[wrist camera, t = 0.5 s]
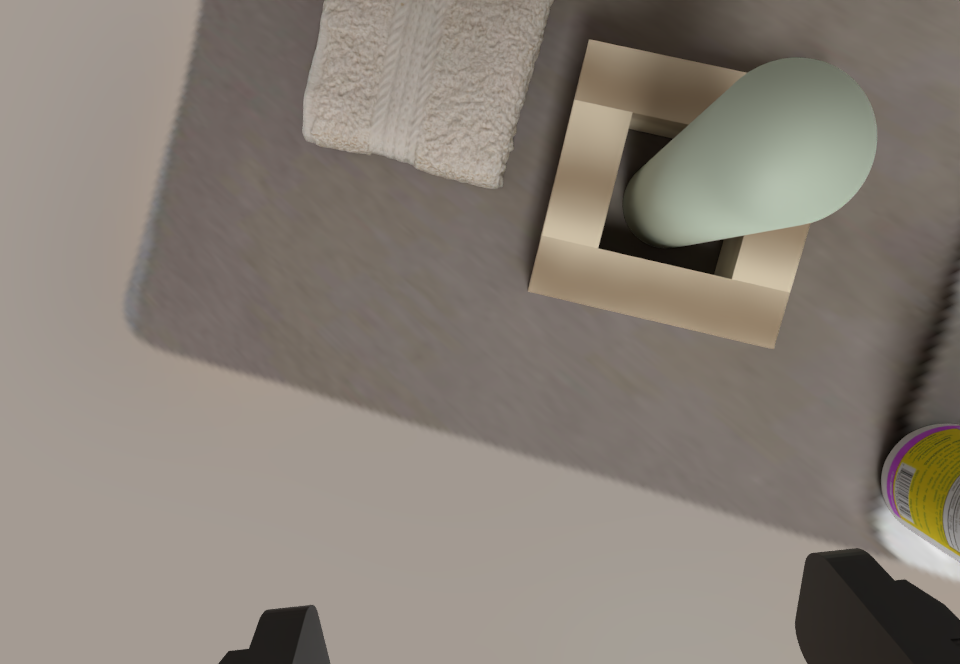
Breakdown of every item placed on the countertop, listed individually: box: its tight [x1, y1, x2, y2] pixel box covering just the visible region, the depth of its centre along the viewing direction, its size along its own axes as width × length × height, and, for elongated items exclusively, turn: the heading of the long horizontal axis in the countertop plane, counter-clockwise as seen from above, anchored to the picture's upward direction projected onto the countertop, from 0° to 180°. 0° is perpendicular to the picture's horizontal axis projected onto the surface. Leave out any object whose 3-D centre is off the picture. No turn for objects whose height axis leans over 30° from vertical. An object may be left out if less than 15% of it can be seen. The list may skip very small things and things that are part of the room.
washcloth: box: [302, 0, 554, 189], centre depth 31 cm, size 12×18×3 cm, turn 165°
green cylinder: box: [623, 58, 877, 249], centre depth 25 cm, size 5×5×15 cm
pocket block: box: [528, 39, 810, 349], centre depth 31 cm, size 13×13×3 cm
